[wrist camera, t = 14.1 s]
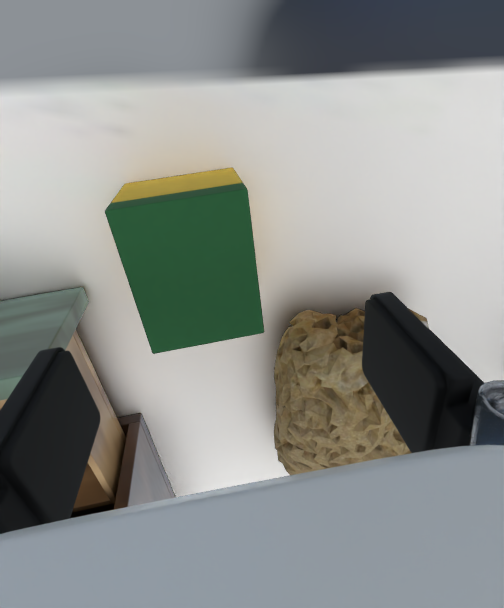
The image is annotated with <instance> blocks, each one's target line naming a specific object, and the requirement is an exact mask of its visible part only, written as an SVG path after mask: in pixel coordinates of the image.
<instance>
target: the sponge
mask: <svg viewBox="0 0 504 608" xmlns="http://www.w3.org/2000/svg"><path fill="white" fill-rule="evenodd" d="M408 309H409V308H408ZM409 310H410V309H409ZM410 311H411V312H412V313H413V314H414V315H415V316H416V317H417V318H418V319H419V320H420V321H421V322H422V323H423V324H424V325H425V326H426V327H427V328H428V322H427V319H426V318H425V317H423V316H421V315H419V314H417V313H415V312H414V311H412V310H410ZM336 317H337V316H336V315H333V314H322V313H319V312H316V311H312V310H305V311H303V312H300V313H298V314H297V315H296V316H295V317H294V318H293V319H292V320H291V321H290V322H289V323H290V324H291V325H292V326H291V327H289V328H288V329H287V330H286V331H285V333H284V335H283V337H282V338H281V341H280V345H279V348H278V351H277V356H276V361H275V367H274V370H275V371H274V379H275V384H276V422H275V426H274V441H275V449H276V450H277V452H278V461H280V462H281V463H283V465H284V467H285V469H286V471H287V472H288V473H289V474H290V475H295V474H300V473H306V472H311V471H316V470H322V469H327V468H332V467H338V466H343V465H349V464H354V463H359V462H365V461H370V460H375V459H381V458H387V457H393V456H399V455H405V454H411V452H410V450H409V448H408V447H407V445H406V443H405V442H404V440H403V438H402V437H401V435H400V433H399V432H398V430H397V428H396V427H395V425H394V423H393V422H392V420H391V418H390V417H389V415H388V414H387V412H386V410H385V409H384V407H383V405H382V404H381V402H380V400H379V399H378V397H377V395H376V394H375V392H374V390H373V389H372V387H371V385H370V384H369V382H368V380H367V379H366V377H365V375H364V373H363V370H362V352H363V336H364V319H365V311H362V310H360V309H358V308H355V309H354V310H352V311H350V312H348V314H346V315H343V316H342V315H340V316H339V317H338V320H337V322H336V321H335V320H336ZM428 329H429V328H428Z"/></svg>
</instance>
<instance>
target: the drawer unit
mask: <svg viewBox="0 0 504 608" xmlns="http://www.w3.org/2000/svg"><path fill="white" fill-rule="evenodd" d="M117 419H118V421H119V423H120V426H121V428H122V430H123V432H124V434H125V436H126V443H125V449H124V455H123V460H122V466H121V471H120V477H119V483H118V488H117V494H116V499H115V503H111V504H108V505H103V506H99V507H94V508H90V509H85V510H81V511H76V512H72V514H71V517H70V518H75V517H80V516H85V515H90V514H95V513H100V512H105V511H110V510H115V509H120V508H125V507H130V506H135V505H140V504H145V503H150V502H155V501H160V500H165V499H170V498H175V495H174V493H173V490H172V488H171V485H170V483H169V480H168V478H167V475H166V473H165V470H164V468H163V466H162V463H161V461H160V458H159V456H158V453H157V451H156V448H155V446H154V443H153V441H152V438H151V436H150V434H149V431H148V429H147V426H146V424H145V421H144V419H143V416H142V414H141V413H139V414H134V415H129V416H124V417H119V418H117Z"/></svg>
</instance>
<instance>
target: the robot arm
mask: <svg viewBox="0 0 504 608" xmlns="http://www.w3.org/2000/svg"><path fill="white" fill-rule="evenodd" d="M362 370H363V373H364V375H365V377H366V379H367V380H368V382H369V384H370V385H371V387H372V389H373V390H374V392H375V394H376V395H377V397H378V399H379V400H380V402H381V404H382V405H383V407H384V409H385V410H386V412H387V414H388V415H389V417H390V418H391V420H392V422H393V423H394V425H395V427H396V428H397V430H398V432H399V433H400V435H401V437H402V438H403V440H404V442H405V443H406V445H407V447H408V448H409V450H410V452H411V454H405V455H399V456H393V457H387V458H381V459H375V460H370V461H365V462H359V463H354V464H349V465H343V466H338V467H332V468H327V469H322V470H316V471H311V472H306V473H300V474H295V475H290V476H284V477H279V478H274V479H269V480H264V481H258V482H253V483H248V484H243V485H237V486H232V487H227V488H222V489H217V490H212V491H206V492H201V493H196V494H191V495H186V496H181V497H175V498H170V499H165V500H160V501H155V502H150V503H145V504H140V505H135V506H130V507H125V508H120V509H115V510H110V511H105V512H100V513H95V514H90V515H85V516H80V517H75V518H70V517H71V514H72V510H73V507H74V504H75V501H76V498H77V495H78V491H79V488H80V485H81V482H82V479H83V476H84V472H85V469H86V466H87V463H88V460H89V457H90V453H91V450H92V447H93V444H94V441H95V437H96V434H97V431H98V428H99V425H100V419H101V418H100V412H99V409H98V407H97V405H96V403H95V401H94V399H93V397H92V395H91V393H90V391H89V389H88V387H87V385H86V382H85V380H84V378H83V376H82V374H81V372H80V370H79V368H78V366H77V364H76V362H75V360H74V358H73V356H72V354H71V352H70V351H65V350H64V349H63V348H62V347H57V348H51V349H45V350H41V351H39V352H38V353H37V355H36V356H35V358H34V359H33V361H32V362H31V364H30V366H29V367H28V369H27V370H26V372H25V373H24V375H23V376H22V378H21V379H20V381H19V382H18V384H17V385H16V387H15V388H14V390H13V391H12V393H11V395H10V396H9V398H8V399H7V401H6V402H5V404H4V405H3V407H2V408H1V410H0V608H504V380H501V381H490V382H486V383H484V382H483V381H482V380H481V379H480V378H479V377H478V376H477V375H476V374H475V373H474V372H473V371H472V370H471V369H470V368H469V367H468V366H466V365H465V364H464V363H463V362H462V361H461V360H460V359H459V358H458V357H457V356H456V355H455V354H454V353H453V352H452V351H451V350H450V349H449V348H448V347H447V346H446V345H445V344H444V343H443V342H442V341H441V340H440V339H439V338H438V337H437V336H436V335H435V334H434V333H433V332H432V331H431V330H429V329H428V328H427V327H426V326H425V325H424V324H423V323H422V322H421V321H420V320H419V319H418V318H417V317H416V316H415V315H414V314H413V313H412V312H411V311H410V310H409V309H408V308H407V307H406V306H405V305H404V304H403V303H402V302H401V301H400V300H399V299H398V298H397V297H396V296H395V295H394V294H393V293H391V292H386V293H380V294H374V295H372V296H371V298H370V300H367V301H366V304H365V319H364V336H363V352H362Z"/></svg>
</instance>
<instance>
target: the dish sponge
mask: <svg viewBox="0 0 504 608" xmlns="http://www.w3.org/2000/svg"><path fill="white" fill-rule="evenodd" d="M105 214H106V217H107V220H108V223H109V225H110V228H111V231H112V234H113V237H114V240H115V243H116V246H117V249H118V252H119V255H120V258H121V261H122V264H123V267H124V270H125V273H126V276H127V279H128V282H129V285H130V288H131V291H132V294H133V297H134V300H135V303H136V306H137V309H138V311H139V314H140V317H141V320H142V323H143V326H144V329H145V332H146V335H147V338H148V341H149V344H150V347H151V350H152V353H153V354H155V353H160V352H165V351H171V350H176V349H181V348H186V347H192V346H197V345H202V344H208V343H213V342H218V341H223V340H229V339H234V338H239V337H244V336H250V335H255V334H260V333H264V326H263V318H262V309H261V301H260V292H259V283H258V275H257V266H256V258H255V249H254V241H253V232H252V224H251V215H250V207H249V198H248V190H247V188H246V187H245V185H244V184H243V182H242V181H241V179H240V178H239V176H238V175H237V173H236V172H235V170H234V169H233V168H226V169H220V170H213V171H206V172H200V173H193V174H186V175H180V176H173V177H166V178H160V179H153V180H146V181H140V182H133V183H126V184H124V186H123V187H122V188H121V190H120V191H119V192H118V194H117V195H116V196H115V198H114V199H113V201H112V202H111V204H110V205H109V206H108V207H107V209H106V210H105Z"/></svg>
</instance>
